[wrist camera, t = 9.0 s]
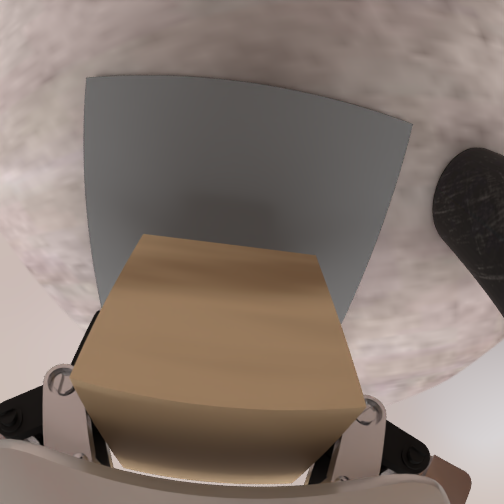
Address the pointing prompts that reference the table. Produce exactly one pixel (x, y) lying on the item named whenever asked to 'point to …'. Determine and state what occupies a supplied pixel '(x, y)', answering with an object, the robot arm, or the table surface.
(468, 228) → the travel mug
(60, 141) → the table surface
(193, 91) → the charcoal mat
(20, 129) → the table surface
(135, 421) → the oak block
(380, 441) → the robot arm
